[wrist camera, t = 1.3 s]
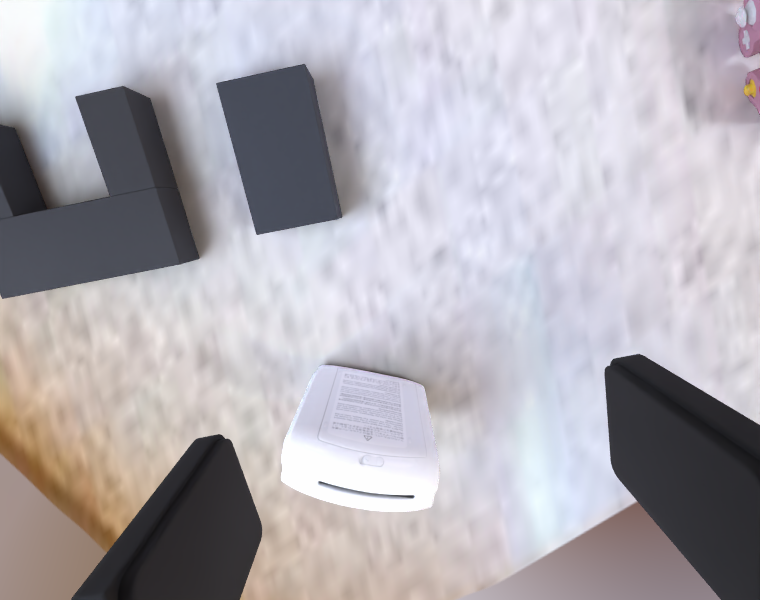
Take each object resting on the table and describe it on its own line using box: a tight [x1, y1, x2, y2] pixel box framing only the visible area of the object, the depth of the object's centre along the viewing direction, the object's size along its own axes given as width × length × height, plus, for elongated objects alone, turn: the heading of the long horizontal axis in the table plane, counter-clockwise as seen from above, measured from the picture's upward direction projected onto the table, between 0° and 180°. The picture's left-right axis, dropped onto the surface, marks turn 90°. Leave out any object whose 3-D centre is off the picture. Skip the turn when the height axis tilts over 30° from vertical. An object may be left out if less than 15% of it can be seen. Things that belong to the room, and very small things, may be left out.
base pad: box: [0, 86, 199, 299], centre depth 28 cm, size 12×14×3 cm
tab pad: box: [216, 64, 342, 235], centre depth 27 cm, size 10×6×3 cm, turn 11°
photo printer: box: [281, 365, 440, 512], centre depth 27 cm, size 10×4×12 cm, turn 79°
